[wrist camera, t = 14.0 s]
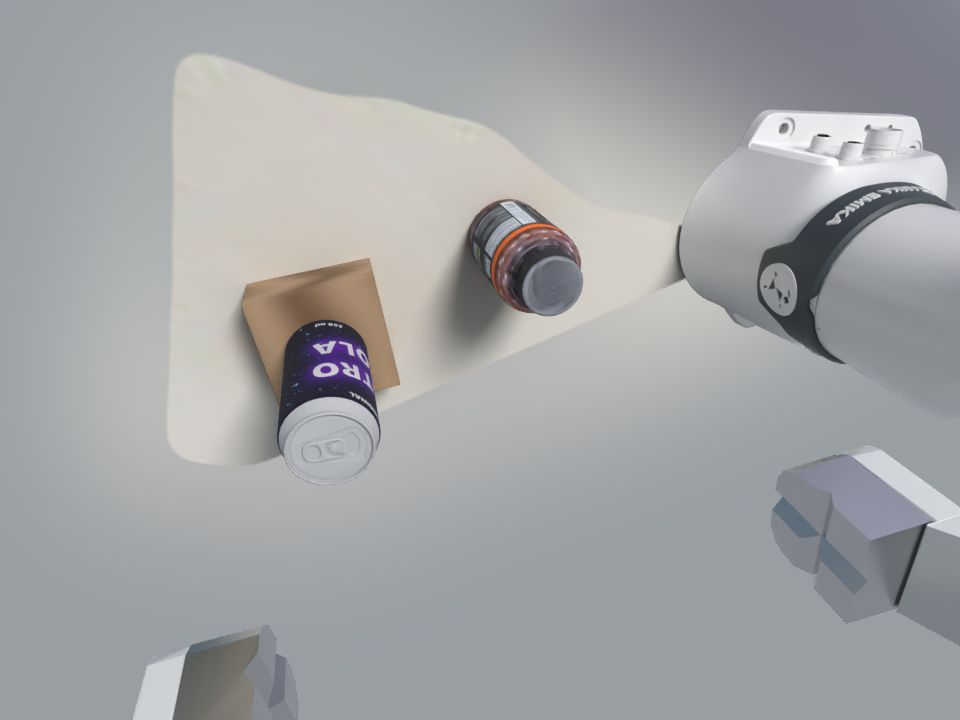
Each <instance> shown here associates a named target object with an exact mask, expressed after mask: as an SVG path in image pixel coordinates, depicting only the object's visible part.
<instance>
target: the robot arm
mask: <svg viewBox="0 0 960 720" xmlns="http://www.w3.org/2000/svg"><path fill="white" fill-rule="evenodd" d="M781 124H783V127H782V129H781V131H780V132H779V127H780V126H781ZM946 193H947V173H946V168H945V165H944V163H943V161H942V159H941V158H940V157H939V156H938V155H937V154H934V153H931V152H928V151H924V150H922V137H921V132H920V128H919V125H918V122H917V120H916V119H915V118H913V117H910V116H906V115H900V114H875V113H874V114H873V113H846V112H818V111H817V112H816V111H790V110H766V111H763V112H762V113H760V114H759V115H758V116H757V117H756V118H755V119H754V121H753V122H752V124H751V125H750V127H749V128H748V130H747V131H746V133H745V135H744V136H743V138H742V140H741V142H740V144H739V145H738V147H737V148H736V149H735V150H734V151H733V152H732V153H731V154H730V155H729V156H728V157H727V158H726V159H725V160H724V161H723V162H722V163H721V164H720V165H718V166H717V167H716V168H715V169H714V171H712V172H711V174H710V175H709V176H708V177H707V178H706V180H705V181H704V182H703V184H702V185H701V186H700V188H699V189H698V191H697V192H696V194H695V196H694V198H693V199H692V201H691V203H690V206H689V208H688V210H687V213H686V215H685V218H684V221H683V225H682V229H681V234H680V244H679V253H680V262H681V266H682V270H683V273H684V275H685V277H686V279H687V281H688V283H689V284H690V286H691V287H692V288H693V289H694V290H695V291H696V292H697V293H698V294H699V295H700V296H702V297H703V298H705V299H707V300H709V301H711V302H714V303H716V304H718V305H720V306H722V307H723V308H725V310H726V311H727V313H728V314H729V316H730V317H731V319H733V321H734V322H735V323H737V324H740V325H741V326H743V327H747V328H748V327H752V326H755V325H757V326H759V327H761V328H763V329H765V330H767V331H769V332H771V333H773V334H775V335H777V336H779V337H781V338H783V339H785V340H787V341H789V342H791V343H793V344H796V345H804V346H805V348H806V349H808V350H809V351H811V352H813V353H815V354H817V355H819V356H823V357H825V358H827V359H829V360H830V361H833V362H837V363H840V364H847V365H849V366H851V367H852V368H854V369H855V370H857V371H859V372H860V373H862V374H863V375H865V376H867V377H868V378H870V379H872V380H873V381H875V382H876V383H878V384H879V385H881V386H883V387H884V388H886V389H888V390H889V391H891V392H892V393H894V394H896V395H897V396H899V397H900V398H902V399H903V400H905V401H907V402H908V403H910V404H912V405H913V406H915V407H916V408H918V409H919V410H921V411H923V412H926V413H928V414H931V415H934V416H937V417H942V418H949V419H960V212H959V211H956V210H955V209H954V208H953V207H952V206H951V205H949V204H948V203H947V202H945V200H946ZM776 490H777V491H778V492H779V493H780V494H781V496H782V498H781V499H780V501H779V502H778V503H777V504H776V506H775V507H774V508H773V510H772V518H771V527H772V530H773V534H774V537H775V540H776V542H777V544H778V546H779V547H780V549H781V551H782V552H783V554H784V555H785V556H786V557H787V558H788V559H789V561H790V562H791V563H792V564H793V565H794V566H795V567H798V568H800V569H802V570H804V571H807V572H809V573H811V574H813V581H814V589H815V590H816V591H817V592H818V593H819V594H820V595H821V596H822V597H823V599H824V600H825V601H826V602H827V603H828V604H829V605H830V606H831V607H832V608H833V609H834V611H835V612H836V613H837V614H838V615H839V616H840V617H841V618H842V619H843V620H844V622H846V624H847V623H850V622H853V621H857V620H860V619H863V618H866V617H869V616H873V615H876V614H880V613H883V612H886V611H889V610H893V609H896V608H897V612H898V613H900V614H902V615H904V616H906V617H908V618H909V619H911V620H913V621H915V622H917V623H919V624H920V625H922V626H924V627H926V628H928V629H930V630H932V631H933V632H935V633H937V634H939V635H941V636H943V637H944V638H946V639H948V640H950V641H952V642H954V643H956V644H957V645H959V646H960V508H959V507H958V506H957V505H955V504H954V503H953V502H951V501H950V500H949V499H947V498H946V497H945V496H943V495H942V494H940V493H939V492H938V491H936V490H935V489H934V488H932V487H931V486H930V485H928V484H927V483H925V482H924V481H923V480H921V479H920V478H919V477H917V476H916V475H914V474H913V473H912V472H910V471H909V470H908V469H906V468H905V467H903V466H902V465H901V464H899V463H898V462H897V461H895V460H894V459H892V458H891V457H890V456H888V455H887V454H886V453H884V452H883V451H882V450H880V449H877V448H875V447H872V446H869V445H868V446H865V447H861V448H858V449H855V450H851V451H848V452H845V453H841V454H839V455H833V456H829V457H826V458H823V459H820V460H816V461H813V462H810V463H807V464H804V465H801V466H797V467H794V468H791V469H788V470H785V471H783V472H782V473H781V474H780V476H779V477H778V480H777V485H776ZM132 720H298V701H297V692H296V684H295V680H294V676H293V673H292V670H291V667H290V665H289V663H288V661H287V659H286V657H283V656H281V655H278V654H276V637H275V636H274V634H273V632H272V630H271V629H270V627H269V625H263V626H259V627H256V628H252V629H248V630H245V631H241V632H238V633H233V634H230V635H226V636H222V637H218V638H215V639H211V640H207V641H203V642H200V643H196V644H192V645H189V646H186V647H182V648H179V649H175V650H172V651H168V652H165V653H161V654H157V655H154V657H153V658H152V659H151V661H150V663H149V664H148V666H147V667H146V669H145V673H144V676H143V681H142V684H141V688H140V692H139V695H138V699H137V703H136V706H135V710H134V714H133V718H132Z"/></svg>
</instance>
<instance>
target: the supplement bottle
mask: <svg viewBox="0 0 960 720" xmlns="http://www.w3.org/2000/svg"><path fill="white" fill-rule="evenodd" d="M469 245H470V250H471V253H472V255H473V258H474V259H475V261H476V263H477V264H478V265H479V267H480V268H481V270H482V271H483V273H484V274H485V275H486V277H487V278H488V280H489V281H490V283H491V284H492V285H493V287H494V288H495V289H496V291H497V292H498V294H499V295H500V296H501V298H502V299H503V300H504V301H505V302H506V303H507V304H509V305H510V306H511V307H513V308H515V309H517V310H519V311H522V312H526V313H536V314H538V315H542V316H555V315H558V314H561V313H563V312H565V311H566V310H568V309H569V308H570V307H571V306H573V305H574V303H575V302H576V301H577V299H578V297H579V296H580V294H581V291H582V286H583V277H582V273H581V259H580V255H579V251H578V249H577V247H576V246H575V244H574V243H573V241H572V240H571V239H570V238H569V236H567V235H566V234H565V233H564V232H563V231H562V230H560V229H559V228H557V227H556V226H555V225H553V224H552V223H551V222H550V221H548V220H547V219H546V218H545V217H543V216H542V215H541V214H540V213H538V212H537V211H536V210H535V209H533V208H532V207H531V206H529V205H527V204H525V203H523V202H521V201H518V200H513V199H506V200H500V201H496V202H493V203H492V204H490V205H488V206H487V207H485V208H484V209H483V210H482V211H481V212H480V213H479V214H478V215H477V217H476V218H475V220H474V221H473V223H472V226H471V229H470V235H469Z"/></svg>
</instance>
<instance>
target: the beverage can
mask: <svg viewBox="0 0 960 720" xmlns="http://www.w3.org/2000/svg"><path fill="white" fill-rule="evenodd" d="M379 441H380V424H379V419H378V412H377V406H376V400H375V394H374V388H373V382H372V376H371V370H370V364H369V358H368V352H367V347H366V344H365V342H364V340H363V338H362V337H361V335H360V334H359V333H358V332H357V331H356V330H355V329H353V328H352V327H351V326H349V325H347V324H345V323H342V322H339V321H334V320H318V321H314V322H311V323H308V324H306V325H304V326H302V327H301V328H299V329H298V330H297V331H296V332H295V333H294V334H293V335H292V336H291V337H290V339H289V341H288V343H287V345H286V348H285V355H284V366H283V377H282V388H281V399H280V410H279V421H278V432H277V442H278V446H279V449H280V452H281V454H282V455H283V457H284V458H285V461H286V463H287V465H288V467H289V468H290V470H291V471H292V472H293V473H294V474H295V475H297V476H298V477H299V478H301V479H303V480H305V481H307V482H310V483H314V484H318V485H336V484H340V483H344V482H347V481H350V480H352V479H353V478H356V477H357V476H359V475H360V474H361V473H362V472H364V471H365V470H366V468H367V467H368V466H369V465H370V463H371V461H372V459H373V457H374V454H375V451H376V449H377V447H378V444H379Z"/></svg>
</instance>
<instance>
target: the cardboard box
mask: <svg viewBox="0 0 960 720" xmlns="http://www.w3.org/2000/svg"><path fill="white" fill-rule="evenodd" d="M241 307H242V309H243V312H244V315H245V317H246V320H247V322H248V325H249V328H250V330H251V333H252V336H253V338H254V341H255V343H256V346H257V349H258V351H259V354H260V356H261V359H262V362H263V364H264V367H265V370H266V372H267V375H268V377H269V380H270V383H271V385H272V388H273V391H274V393H275V396H276V398H277V401H278V404H279V406H280V399H281V388H282V377H283V366H284V355H285V348H286V345H287V343H288V341H289V339H290V337H291V336H292V335H293V334H294V333H295V332H296V331H297V330H298V329H299V328H301V327H302V326H304V325H306V324H308V323H311V322H314V321H318V320H334V321H339V322H342V323H345V324H347V325H349V326H351V327H352V328H353V329H355V330H356V331H357V332H358V333H359V334H360V335H361V337H362V338H363V340H364V342H365V344H366V347H367V352H368V358H369V364H370V370H371V376H372V382H373V388H374V391H377V390H381V389H385V388H389V387H393V386H397V385H400V381H399V377H398V373H397V368H396V364H395V360H394V356H393V352H392V348H391V344H390V340H389V336H388V332H387V328H386V324H385V320H384V316H383V312H382V308H381V304H380V299H379V295H378V291H377V287H376V283H375V279H374V275H373V271H372V267H371V263H370V259H369V258H367V259H362V260H358V261H353V262H348V263H344V264H339V265H335V266H330V267H325V268H321V269H316V270H311V271H307V272H302V273H297V274H293V275H288V276H284V277H279V278H274V279H270V280H265V281H260V282H256V283H251V284H247V286H246V290H245V294H244V298H243V301H242V305H241Z"/></svg>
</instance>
